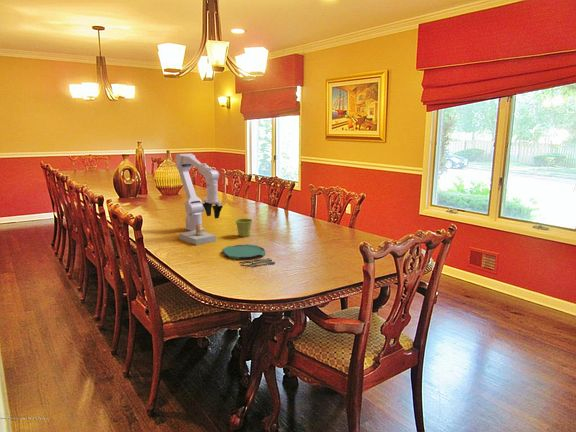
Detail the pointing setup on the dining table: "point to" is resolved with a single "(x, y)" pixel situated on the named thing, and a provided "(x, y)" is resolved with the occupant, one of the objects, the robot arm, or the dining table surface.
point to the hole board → (197, 237)
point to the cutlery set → (246, 253)
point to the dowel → (198, 229)
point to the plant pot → (244, 227)
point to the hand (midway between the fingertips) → (212, 217)
